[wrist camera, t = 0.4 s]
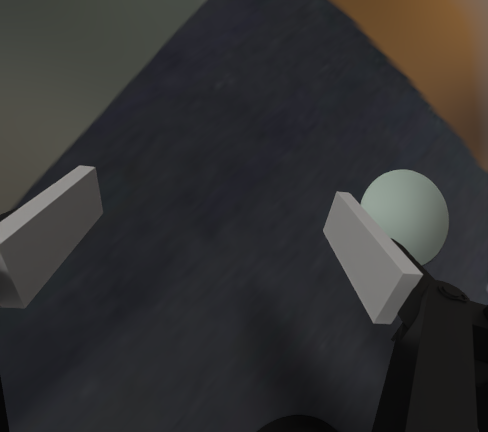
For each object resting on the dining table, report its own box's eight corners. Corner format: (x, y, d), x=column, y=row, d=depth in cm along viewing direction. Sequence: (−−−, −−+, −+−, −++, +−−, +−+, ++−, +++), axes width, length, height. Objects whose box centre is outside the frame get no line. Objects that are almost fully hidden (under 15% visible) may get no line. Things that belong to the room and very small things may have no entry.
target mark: (446, 271, 35) (447, 271, 34) (356, 265, 33) (357, 265, 33) (448, 175, 36) (450, 175, 35) (361, 164, 34) (362, 164, 34)
